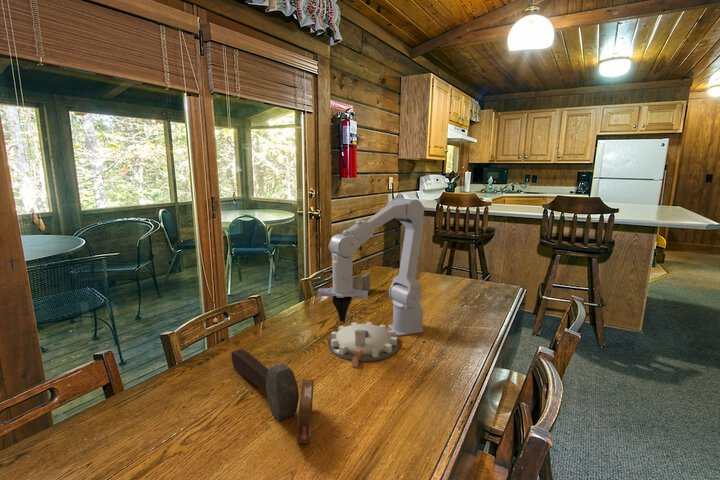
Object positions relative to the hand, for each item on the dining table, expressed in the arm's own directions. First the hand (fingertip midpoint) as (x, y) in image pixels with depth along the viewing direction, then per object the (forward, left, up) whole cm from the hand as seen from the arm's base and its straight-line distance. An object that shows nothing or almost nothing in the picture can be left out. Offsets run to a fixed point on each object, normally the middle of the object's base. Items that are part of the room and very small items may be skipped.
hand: (342, 320), depth 109 cm
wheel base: (-7, -2, -9) cm, 12 cm away
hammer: (+25, +13, -10) cm, 30 cm away
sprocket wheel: (-7, -2, -9) cm, 12 cm away
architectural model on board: (-20, -46, -10) cm, 51 cm away
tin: (+17, +29, -10) cm, 35 cm away
